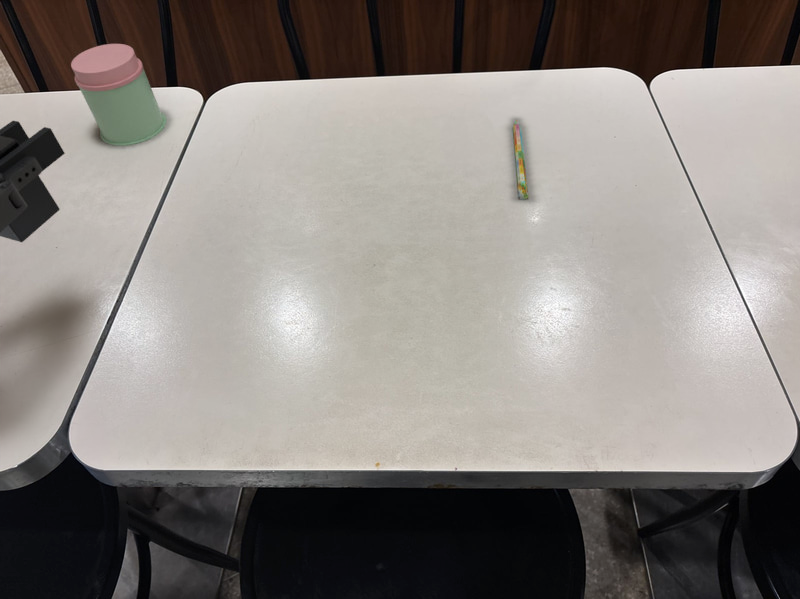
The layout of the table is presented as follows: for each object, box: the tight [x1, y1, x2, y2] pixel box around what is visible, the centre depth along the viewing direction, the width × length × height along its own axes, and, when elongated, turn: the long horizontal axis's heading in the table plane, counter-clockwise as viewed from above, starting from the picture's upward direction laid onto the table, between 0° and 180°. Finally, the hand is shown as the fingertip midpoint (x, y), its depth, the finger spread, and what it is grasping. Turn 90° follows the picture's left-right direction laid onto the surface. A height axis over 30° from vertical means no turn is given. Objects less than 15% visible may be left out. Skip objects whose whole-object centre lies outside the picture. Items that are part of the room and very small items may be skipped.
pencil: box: [512, 118, 530, 201], centre depth 80 cm, size 1×1×18 cm
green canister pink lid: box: [70, 43, 168, 147], centre depth 87 cm, size 10×10×12 cm
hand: (38, 137), depth 56 cm, fingers closed on clip, 3 cm apart
